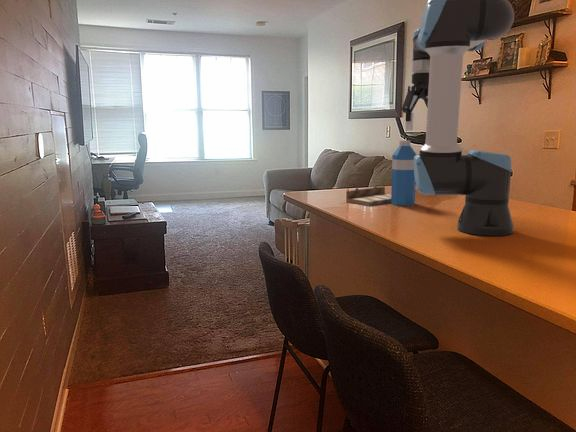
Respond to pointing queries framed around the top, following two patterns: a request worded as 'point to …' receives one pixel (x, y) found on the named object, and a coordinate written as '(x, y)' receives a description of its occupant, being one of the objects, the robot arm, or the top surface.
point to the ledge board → (368, 196)
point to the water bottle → (403, 175)
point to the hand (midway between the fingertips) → (419, 130)
